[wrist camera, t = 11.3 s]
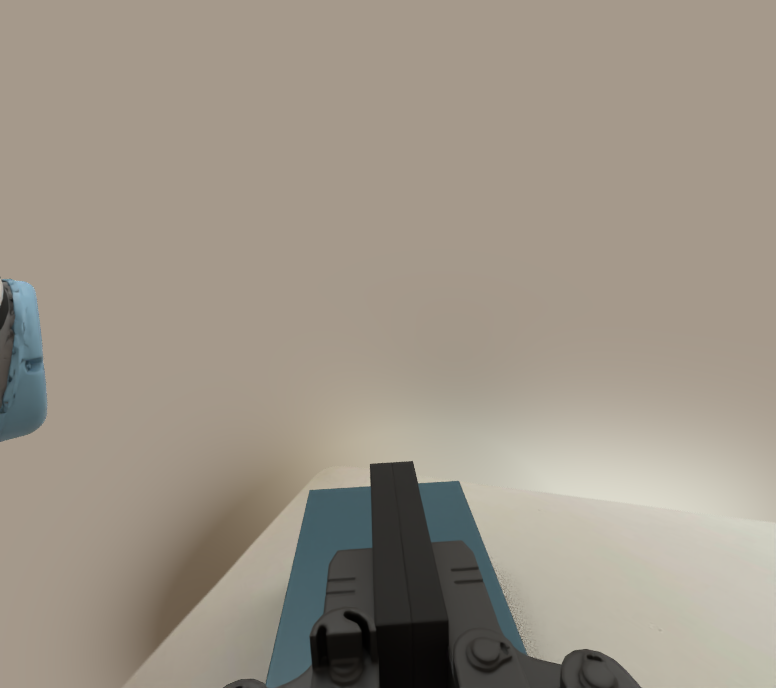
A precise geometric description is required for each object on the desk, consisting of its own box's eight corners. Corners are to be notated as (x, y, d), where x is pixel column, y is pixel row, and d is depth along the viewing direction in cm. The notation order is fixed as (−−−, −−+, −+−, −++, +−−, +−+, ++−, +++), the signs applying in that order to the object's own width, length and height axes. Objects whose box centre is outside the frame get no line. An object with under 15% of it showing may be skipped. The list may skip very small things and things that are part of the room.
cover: (310, 499, 33) (309, 489, 33) (459, 489, 34) (459, 480, 34) (265, 705, 18) (263, 690, 18) (533, 683, 19) (533, 669, 19)
